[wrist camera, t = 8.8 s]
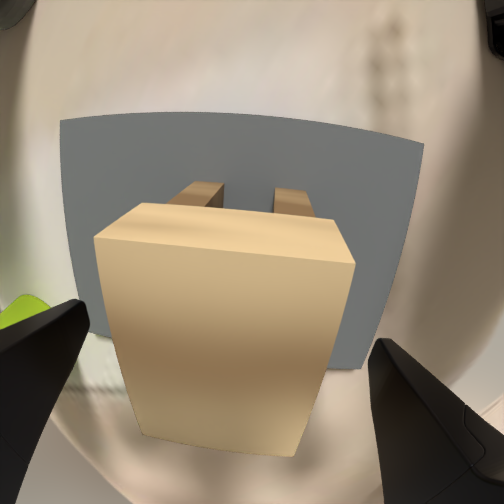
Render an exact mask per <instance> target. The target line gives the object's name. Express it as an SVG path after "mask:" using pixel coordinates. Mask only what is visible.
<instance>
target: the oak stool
mask: <svg viewBox="0 0 504 504" xmlns="http://www.w3.org/2000/svg"><path fill="white" fill-rule="evenodd" d="M223 201H224V183H218V182H203V181H194V182H193V183H192V184H190V185H189V186H188V187H186V188H185V189H184V190H183V191H181V192H180V193H179V194H177V195H176V196H175V197H173V198H172V199H171V200H170V201H168V202H167V203H166V204H156V203H141V204H139V205H138V206H136V207H135V208H133V209H132V210H131V211H129V212H128V213H126V214H125V215H123V216H122V217H120V218H119V219H118V220H116V221H115V222H113V223H112V224H111V225H109V226H108V227H106V228H105V229H104V230H102V231H101V232H99V233H98V234H97V235H95V236H94V245H95V252H96V259H97V266H98V272H99V278H100V284H101V289H102V294H103V299H104V304H105V309H106V314H107V318H108V323H109V327H110V331H111V336H112V340H113V344H114V347H115V351H116V355H117V359H118V362H119V366H120V369H121V373H122V376H123V379H124V383H125V386H126V389H127V392H128V395H129V398H130V401H131V404H132V407H133V410H134V413H135V416H136V419H137V421H138V424H139V427H140V429H141V432H142V434H143V435H147V436H151V437H155V438H159V439H163V440H167V441H172V442H177V443H181V444H186V445H192V446H197V447H203V448H209V449H215V450H222V451H230V452H238V453H247V454H257V455H270V456H288V457H293V456H294V454H295V452H296V449H297V447H298V444H299V442H300V440H301V437H302V435H303V432H304V430H305V427H306V424H307V422H308V419H309V417H310V414H311V411H312V409H313V406H314V403H315V400H316V398H317V395H318V392H319V389H320V386H321V383H322V380H323V377H324V375H325V372H326V368H327V365H328V362H329V359H330V356H331V353H332V350H333V346H334V343H335V340H336V337H337V333H338V330H339V326H340V323H341V319H342V316H343V312H344V309H345V305H346V301H347V297H348V294H349V290H350V286H351V282H352V278H353V274H354V269H355V265H356V263H355V261H354V259H353V257H352V255H351V253H350V251H349V249H348V247H347V245H346V243H345V241H344V239H343V237H342V235H341V233H340V231H339V229H338V227H337V225H336V223H335V222H334V220H331V219H322V218H316V217H315V214H314V211H313V209H312V206H311V203H310V201H309V198H308V195H307V193H306V191H304V190H295V189H286V188H276V187H275V195H274V205H273V213H267V212H257V211H246V210H235V209H224V208H223Z"/></svg>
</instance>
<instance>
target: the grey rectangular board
mask: <svg viewBox="0 0 504 504" xmlns="http://www.w3.org/2000/svg"><path fill="white" fill-rule="evenodd" d="M423 149H424V144H423V143H420V142H416V141H412V140H408V139H404V138H400V137H395V136H391V135H387V134H382V133H377V132H373V131H368V130H363V129H357V128H352V127H347V126H341V125H335V124H328V123H322V122H315V121H308V120H300V119H292V118H283V117H273V116H262V115H249V114H233V113H210V112H153V113H130V114H115V115H103V116H92V117H83V118H74V119H67V120H60V162H61V180H62V193H63V204H64V213H65V222H66V230H67V237H68V243H69V250H70V256H71V261H72V267H73V272H74V277H75V282H76V287H77V291H78V296H79V300H82V301H84V302H85V304H86V307H87V311H88V315H89V319H90V328H89V331H88V332H90V333H94V334H98V335H102V336H106V337H110V338H112V336H111V331H110V327H109V323H108V318H107V314H106V309H105V304H104V299H103V294H102V289H101V284H100V278H99V272H98V266H97V259H96V252H95V245H94V236H95V235H97V234H98V233H99V232H101V231H102V230H104V229H105V228H106V227H108V226H109V225H111V224H112V223H113V222H115V221H116V220H118V219H119V218H120V217H122V216H123V215H125V214H126V213H128V212H129V211H131V210H132V209H133V208H135V207H136V206H138V205H139V204H141V203H156V204H166V203H167V202H168V201H170V200H171V199H172V198H173V197H175V196H176V195H177V194H179V193H180V192H181V191H183V190H184V189H185V188H186V187H188V186H189V185H190V184H192V183H193V182H194V181H203V182H218V183H224V201H223V208H224V209H235V210H246V211H257V212H267V213H273V205H274V195H275V187H276V188H286V189H295V190H304V191H306V193H307V195H308V198H309V201H310V203H311V206H312V209H313V211H314V214H315V217H316V218H322V219H331V220H334V222H335V223H336V225H337V227H338V229H339V231H340V233H341V235H342V237H343V239H344V241H345V243H346V245H347V247H348V249H349V251H350V253H351V255H352V257H353V259H354V261H355V263H356V265H355V269H354V274H353V278H352V282H351V286H350V290H349V294H348V297H347V301H346V305H345V309H344V312H343V316H342V319H341V323H340V326H339V330H338V333H337V337H336V340H335V343H334V346H333V350H332V353H331V356H330V359H329V362H328V365H327V368H336V369H361V368H362V365H363V363H364V361H365V358H366V356H367V353H368V351H369V348H370V346H371V343H372V341H373V338H374V335H375V333H376V330H377V327H378V325H379V322H380V319H381V316H382V313H383V311H384V308H385V305H386V302H387V299H388V296H389V293H390V290H391V287H392V283H393V280H394V277H395V274H396V270H397V267H398V263H399V260H400V256H401V253H402V249H403V245H404V241H405V238H406V234H407V230H408V226H409V221H410V217H411V213H412V208H413V204H414V199H415V194H416V189H417V184H418V179H419V173H420V167H421V161H422V155H423Z"/></svg>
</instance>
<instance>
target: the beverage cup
mask: <svg viewBox="0 0 504 504" xmlns="http://www.w3.org/2000/svg"><path fill="white" fill-rule="evenodd" d="M34 1H35V0H0V30H4V29H9V28H10V27H12V26H14V25H15V24H16V23H18V22H19V21H20V20H21V19H22V18H23V17H24V15H25V14H26V13H27V12H28V11H29V9H30V8H31V6H32V5H33V3H34Z"/></svg>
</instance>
